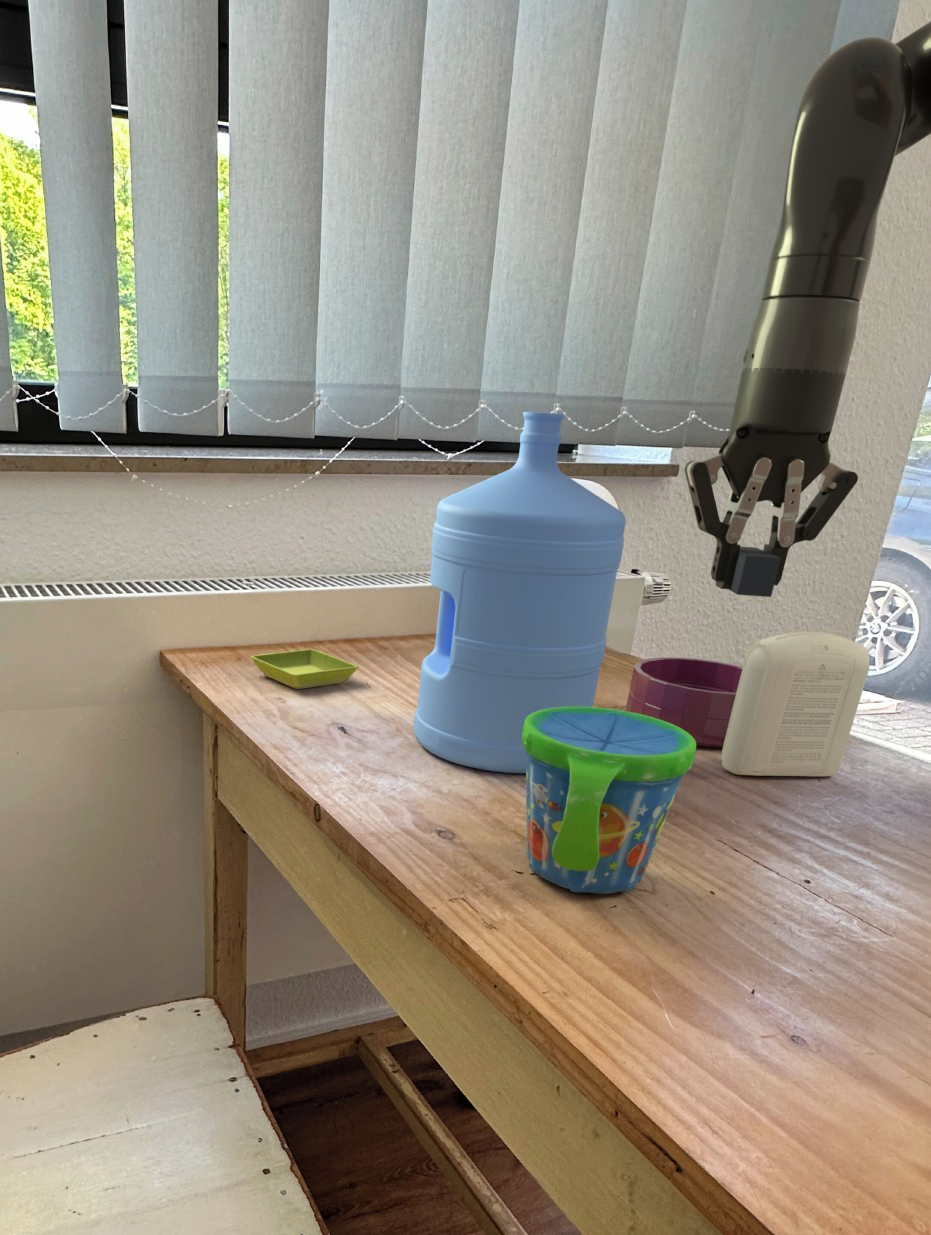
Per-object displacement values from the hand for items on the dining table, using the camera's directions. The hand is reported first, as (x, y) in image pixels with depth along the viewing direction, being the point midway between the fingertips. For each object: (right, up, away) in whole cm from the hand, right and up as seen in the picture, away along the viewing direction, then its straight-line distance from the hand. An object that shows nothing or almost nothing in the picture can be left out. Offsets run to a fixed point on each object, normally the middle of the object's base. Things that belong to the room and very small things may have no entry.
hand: (743, 587), depth 82 cm
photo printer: (+4, -16, +3) cm, 17 cm away
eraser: (0, 0, 0) cm, 0 cm away
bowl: (+1, -11, +13) cm, 17 cm away
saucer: (-38, -5, +22) cm, 44 cm away
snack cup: (-19, -24, -18) cm, 35 cm away
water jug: (-20, -13, +5) cm, 25 cm away
